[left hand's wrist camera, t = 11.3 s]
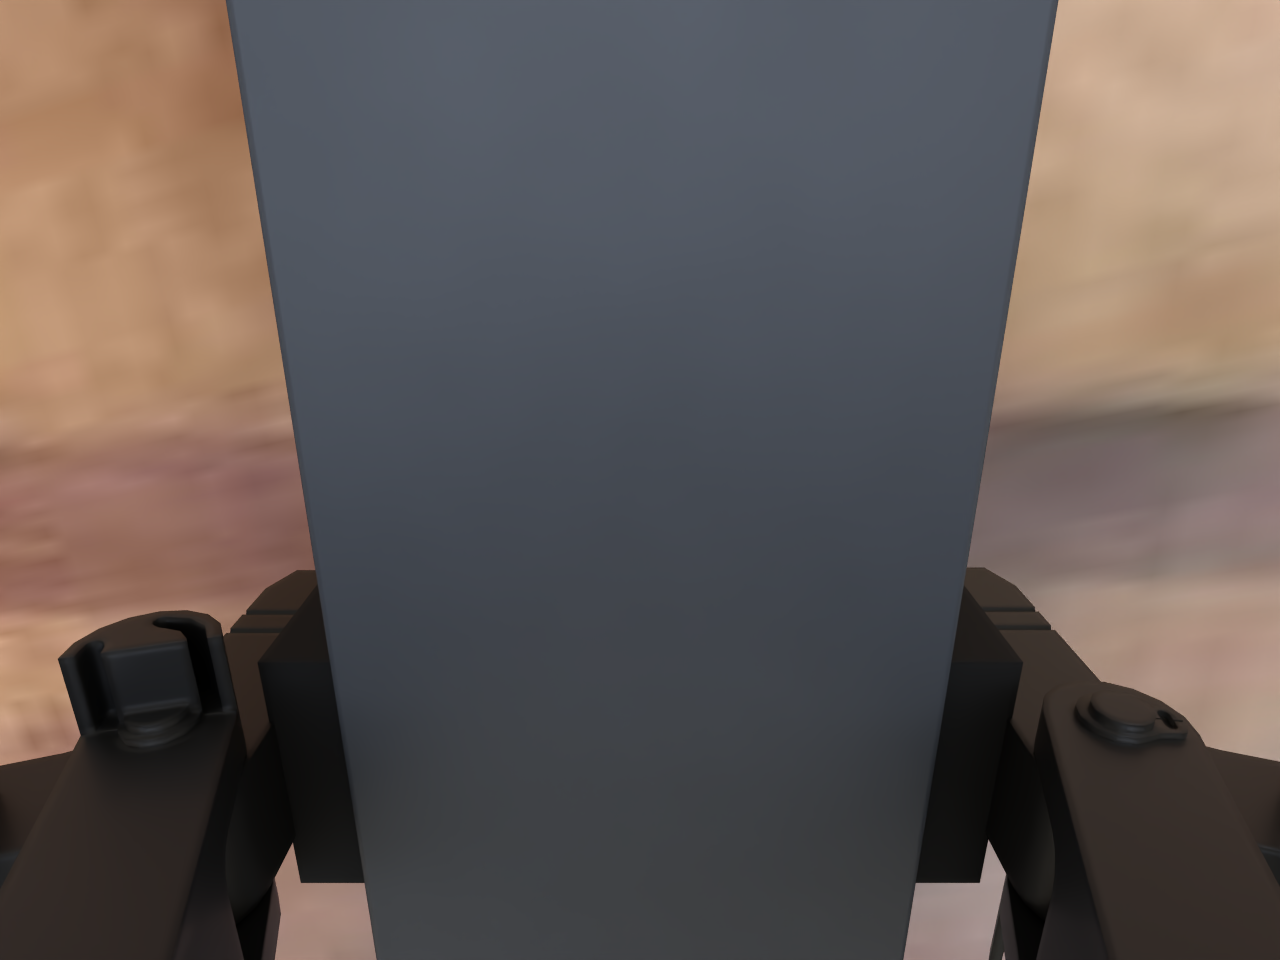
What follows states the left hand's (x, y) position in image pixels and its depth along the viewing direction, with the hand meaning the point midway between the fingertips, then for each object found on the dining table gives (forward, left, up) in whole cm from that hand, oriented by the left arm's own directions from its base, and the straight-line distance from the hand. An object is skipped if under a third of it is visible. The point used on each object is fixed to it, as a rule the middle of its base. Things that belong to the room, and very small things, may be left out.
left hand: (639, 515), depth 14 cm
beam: (-29, +6, -1) cm, 30 cm away
